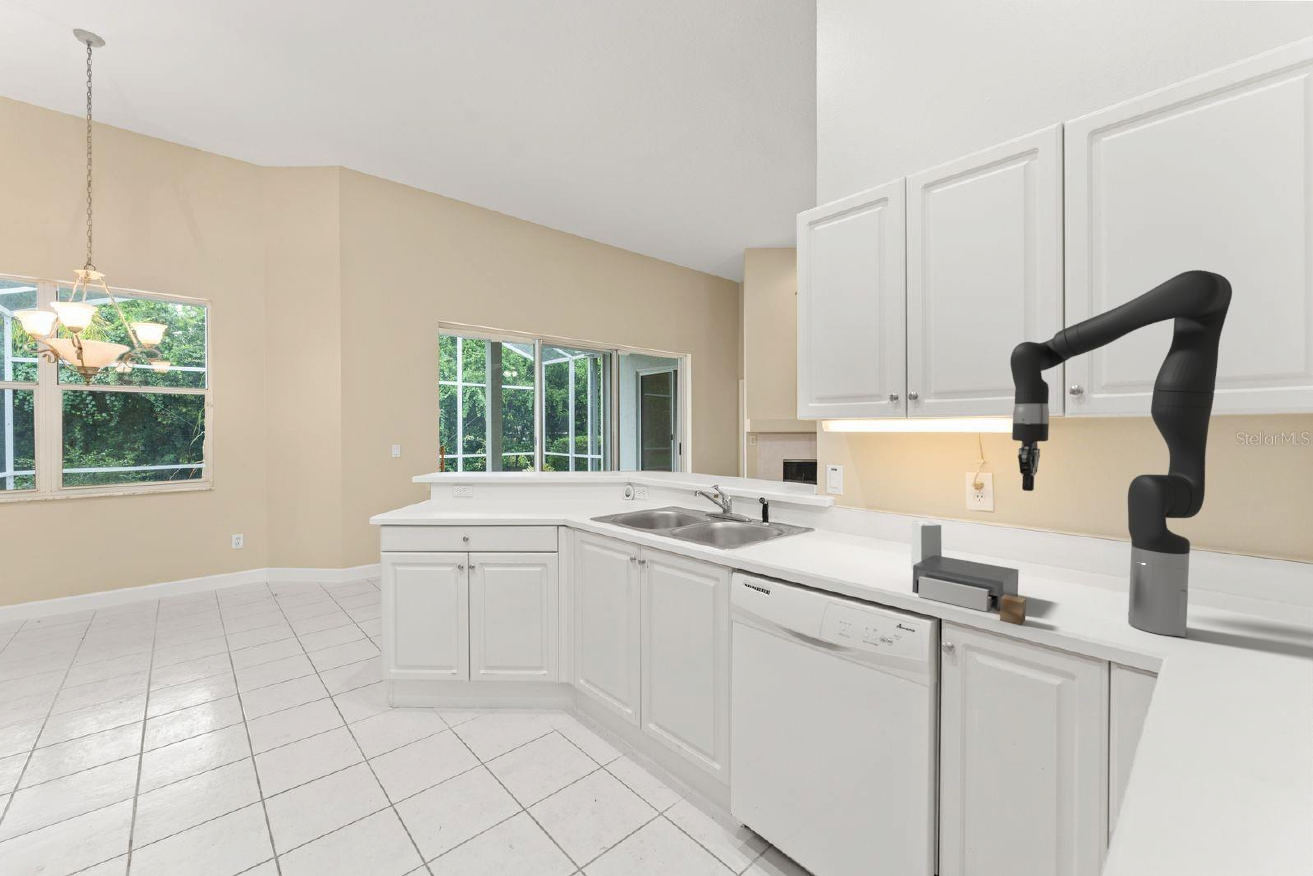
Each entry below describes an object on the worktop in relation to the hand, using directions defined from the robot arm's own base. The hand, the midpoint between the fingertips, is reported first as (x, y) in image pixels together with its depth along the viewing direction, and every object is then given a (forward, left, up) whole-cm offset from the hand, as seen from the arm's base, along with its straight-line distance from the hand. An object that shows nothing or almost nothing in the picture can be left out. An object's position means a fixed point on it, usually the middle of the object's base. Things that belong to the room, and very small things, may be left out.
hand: (1027, 490), depth 138 cm
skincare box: (+25, -4, -27) cm, 37 cm away
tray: (+11, +12, -27) cm, 31 cm away
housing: (+11, +10, -27) cm, 31 cm away
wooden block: (-2, +23, -27) cm, 36 cm away
